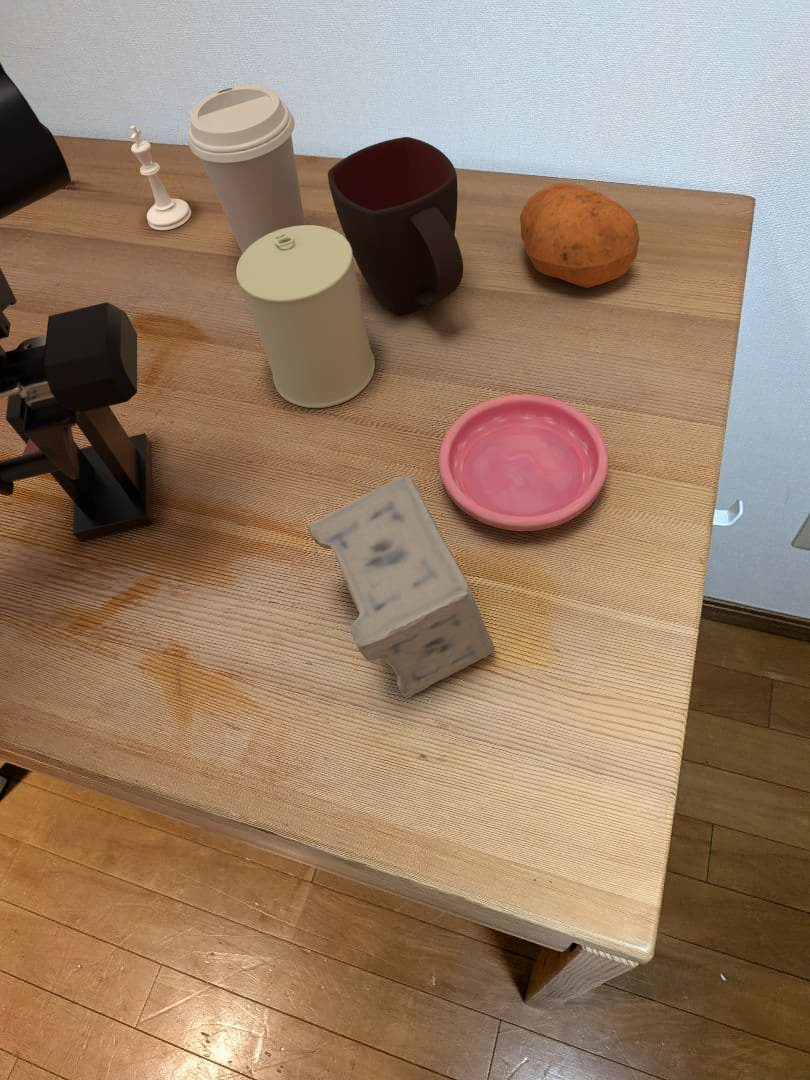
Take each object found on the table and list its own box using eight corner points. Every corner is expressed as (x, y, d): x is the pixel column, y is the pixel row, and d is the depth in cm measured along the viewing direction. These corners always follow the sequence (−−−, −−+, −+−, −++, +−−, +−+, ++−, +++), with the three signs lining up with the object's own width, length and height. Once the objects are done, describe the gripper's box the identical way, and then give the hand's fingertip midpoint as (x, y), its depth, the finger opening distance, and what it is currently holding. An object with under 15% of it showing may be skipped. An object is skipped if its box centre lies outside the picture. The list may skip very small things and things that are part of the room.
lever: (69, 479, 47) (51, 447, 46) (7, 494, 47) (-13, 463, 46) (93, 405, 55) (79, 376, 54) (40, 417, 55) (24, 389, 53)
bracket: (153, 524, 59) (83, 424, 49) (79, 542, 59) (-6, 445, 49) (150, 441, 64) (86, 336, 54) (82, 458, 64) (6, 355, 54)
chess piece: (142, 231, 82) (101, 141, 74) (156, 204, 84) (118, 114, 76) (183, 230, 81) (147, 139, 73) (196, 203, 84) (162, 112, 75)
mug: (424, 246, 75) (411, 126, 65) (502, 320, 67) (502, 198, 57) (338, 287, 73) (311, 169, 63) (409, 367, 65) (392, 249, 55)
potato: (554, 317, 67) (559, 244, 61) (500, 250, 73) (500, 177, 67) (645, 284, 68) (659, 209, 62) (584, 220, 74) (591, 146, 68)
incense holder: (334, 593, 54) (300, 510, 45) (439, 550, 55) (426, 460, 46) (382, 712, 48) (355, 644, 40) (498, 662, 49) (496, 584, 41)
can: (352, 322, 70) (326, 205, 60) (391, 383, 65) (370, 266, 55) (261, 358, 68) (219, 244, 58) (293, 423, 63) (253, 311, 53)
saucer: (621, 438, 58) (626, 410, 56) (580, 566, 52) (584, 542, 50) (472, 406, 62) (470, 378, 59) (418, 522, 56) (413, 498, 54)
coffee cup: (327, 225, 78) (294, 74, 66) (320, 283, 73) (282, 132, 61) (240, 233, 79) (191, 86, 67) (226, 291, 74) (170, 143, 62)
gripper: (73, 149, 40) (180, 366, 53) (-267, 229, 40) (-77, 428, 53) (61, 269, 34) (186, 483, 47) (-345, 365, 33) (-107, 554, 46)
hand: (44, 481), depth 48 cm, fingers closed on lever, 4 cm apart
